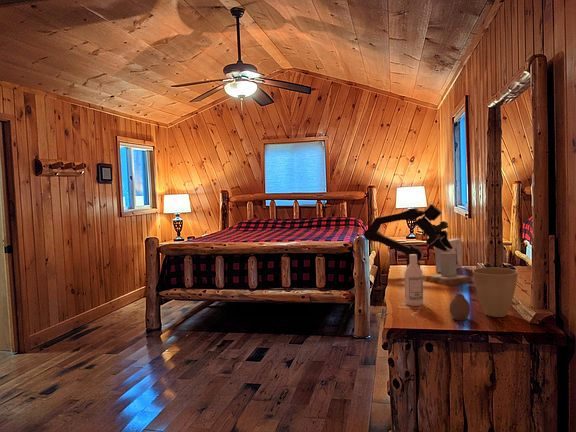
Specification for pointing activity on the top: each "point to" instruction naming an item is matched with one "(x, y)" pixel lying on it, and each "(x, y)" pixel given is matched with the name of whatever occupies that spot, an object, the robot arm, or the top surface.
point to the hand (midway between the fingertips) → (449, 249)
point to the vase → (459, 307)
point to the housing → (448, 263)
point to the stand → (449, 279)
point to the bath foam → (413, 283)
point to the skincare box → (456, 247)
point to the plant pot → (495, 289)
